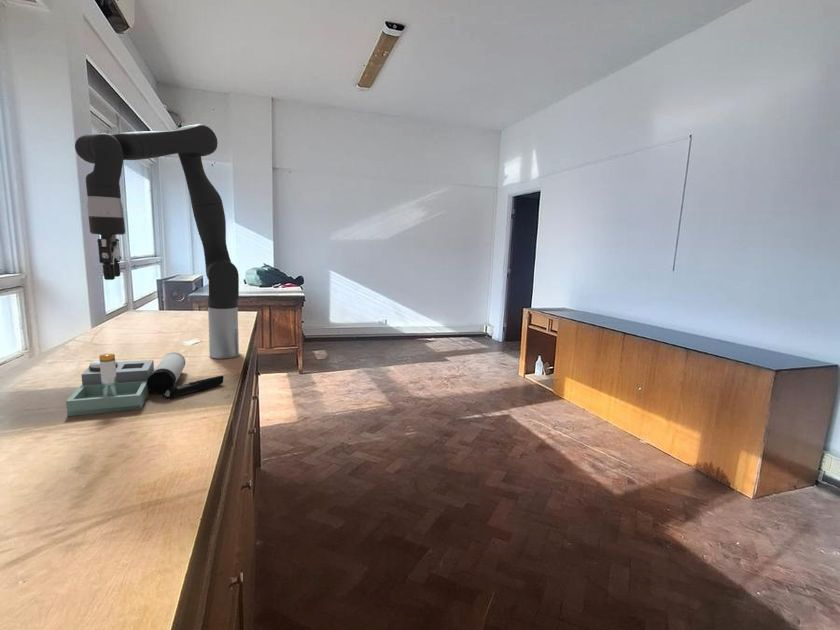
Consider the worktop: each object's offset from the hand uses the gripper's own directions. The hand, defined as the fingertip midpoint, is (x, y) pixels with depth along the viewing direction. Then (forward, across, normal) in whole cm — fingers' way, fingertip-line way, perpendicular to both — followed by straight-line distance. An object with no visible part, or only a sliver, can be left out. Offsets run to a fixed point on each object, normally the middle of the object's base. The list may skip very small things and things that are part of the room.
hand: (112, 278), depth 114 cm
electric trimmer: (+30, -14, -18) cm, 37 cm away
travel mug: (+26, +6, -12) cm, 29 cm away
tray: (+29, -17, 0) cm, 34 cm away
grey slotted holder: (+29, -6, 0) cm, 29 cm away
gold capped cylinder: (+28, -17, 0) cm, 33 cm away
